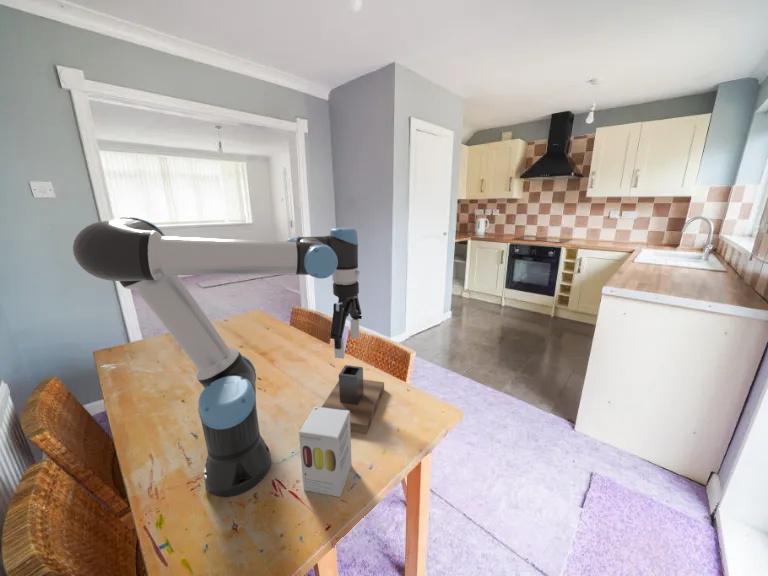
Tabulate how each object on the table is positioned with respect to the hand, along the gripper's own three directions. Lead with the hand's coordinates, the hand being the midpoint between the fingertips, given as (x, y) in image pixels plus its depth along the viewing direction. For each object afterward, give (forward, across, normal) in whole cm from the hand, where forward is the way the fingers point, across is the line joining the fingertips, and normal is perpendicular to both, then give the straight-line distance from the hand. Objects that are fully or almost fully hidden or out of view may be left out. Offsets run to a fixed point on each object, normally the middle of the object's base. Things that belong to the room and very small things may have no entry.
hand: (347, 347), depth 96 cm
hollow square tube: (+18, 0, -1) cm, 18 cm away
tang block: (+21, 0, -1) cm, 21 cm away
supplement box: (+21, -27, -5) cm, 35 cm away
